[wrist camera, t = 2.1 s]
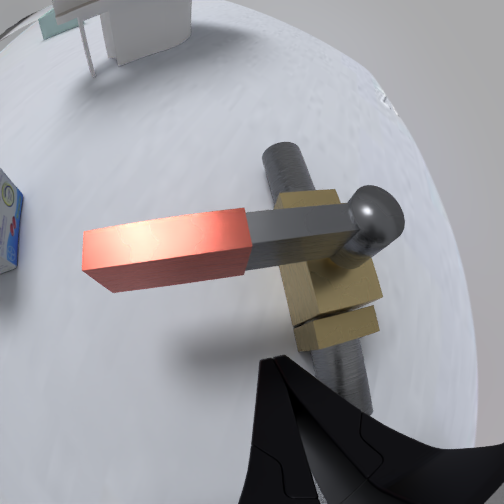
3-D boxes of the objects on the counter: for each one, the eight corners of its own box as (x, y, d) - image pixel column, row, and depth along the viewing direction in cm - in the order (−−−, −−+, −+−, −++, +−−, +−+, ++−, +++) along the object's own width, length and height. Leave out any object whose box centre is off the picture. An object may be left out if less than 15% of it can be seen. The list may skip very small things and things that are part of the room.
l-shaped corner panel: (83, 24, 37) (79, 1, 30) (44, 40, 34) (38, 19, 28) (95, 12, 41) (92, -8, 34) (59, 25, 39) (54, 6, 32)
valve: (363, 403, 16) (414, 413, 11) (312, 421, 15) (352, 444, 10) (299, 166, 23) (319, 116, 17) (254, 168, 22) (265, 115, 17)
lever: (373, 264, 13) (412, 236, 10) (115, 305, 11) (80, 284, 8) (358, 220, 14) (390, 184, 11) (113, 252, 12) (84, 217, 9)
